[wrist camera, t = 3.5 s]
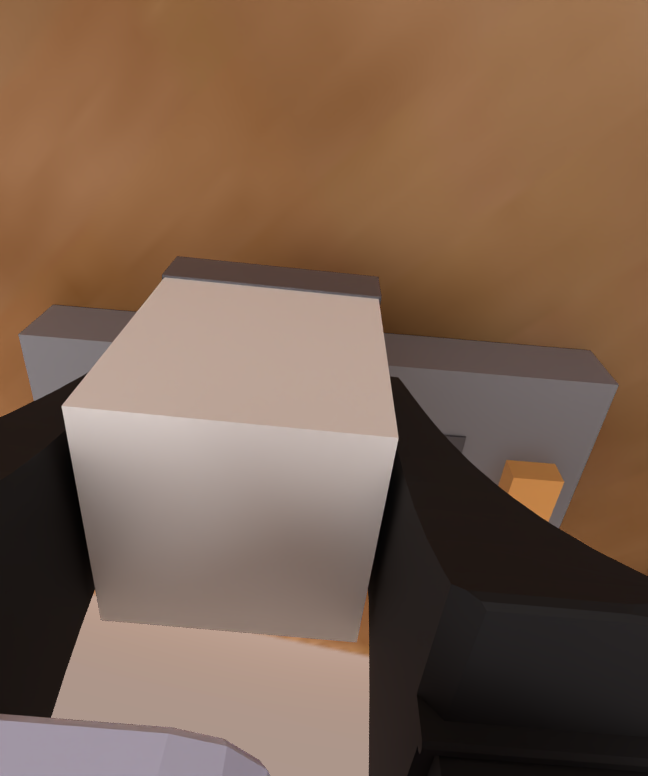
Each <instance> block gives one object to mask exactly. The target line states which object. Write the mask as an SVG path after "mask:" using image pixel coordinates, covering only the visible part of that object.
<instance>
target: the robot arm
mask: <svg viewBox="0 0 648 776" xmlns="http://www.w3.org/2000/svg"><path fill="white" fill-rule="evenodd" d="M87 374H88V373H86V374H85V375H83V376H81V377H79V378H77V379H76V380H74V381H72V382H70V383H68V384H66V385H65V386H63V387H61V388H59V389H57V390H55V391H54V392H52V393H50V394H47V395H45V396H43V397H41V398H39V399H37V400H35V401H33V402H31V403H29V404H27V405H25V406H23V407H21V408H19V409H17V410H15V411H13V412H11V413H9V414H7V415H4V416H2V417H0V776H270V774H269V772H268V770H267V769H266V768H265V766H264V765H263V764H262V763H261V762H260V760H258V759H257V758H255V757H253V756H252V755H250V754H248V753H247V752H245V751H243V750H241V749H240V748H238V747H237V746H235V745H233V744H231V743H230V742H228V741H226V740H225V739H222V738H218V737H213V736H209V735H204V734H199V733H194V732H190V731H186V730H181V729H177V728H171V727H159V726H146V725H133V724H121V723H108V722H96V721H83V720H71V719H57V718H51V715H52V712H53V709H54V706H55V703H56V700H57V697H58V694H59V691H60V687H61V684H62V681H63V678H64V675H65V672H66V669H67V666H68V663H69V660H70V657H71V655H72V651H73V649H74V646H75V643H76V640H77V637H78V634H79V631H80V628H81V625H82V623H83V620H84V617H85V615H86V612H87V609H88V606H89V604H90V601H91V598H92V596H93V593H94V590H95V585H94V580H93V574H92V569H91V564H90V558H89V553H88V547H87V542H86V536H85V531H84V526H83V520H82V515H81V509H80V504H79V498H78V493H77V488H76V482H75V477H74V471H73V466H72V460H71V455H70V450H69V444H68V439H67V433H66V428H65V422H64V417H63V412H62V405H63V403H64V402H65V401H66V400H67V398H68V397H69V396H70V395H71V393H72V392H73V391H74V390H75V388H76V387H77V386H78V385H79V383H80V382H81V381H82V380H83V379H84V377H85V376H86V375H87ZM390 381H391V388H392V395H393V402H394V409H395V416H396V423H397V430H398V437H399V439H398V443H397V448H396V453H395V458H394V463H393V468H392V473H391V478H390V482H389V487H388V492H387V497H386V502H385V507H384V512H383V516H382V521H381V526H380V531H379V536H378V541H377V546H376V551H375V555H374V560H373V565H372V570H371V575H370V580H369V585H368V596H369V664H370V665H369V666H370V668H369V670H370V671H369V677H370V678H369V679H370V704H369V705H370V706H369V707H370V708H369V711H370V712H369V717H370V718H369V776H648V576H646V575H644V574H642V573H640V572H638V571H636V570H634V569H632V568H630V567H628V566H626V565H624V564H622V563H620V562H618V561H616V560H614V559H612V558H610V557H608V556H606V555H604V554H602V553H600V552H598V551H596V550H594V549H592V548H591V547H589V546H587V545H586V544H584V543H582V542H581V541H579V540H577V539H575V538H574V537H572V536H570V535H569V534H567V533H565V532H563V531H562V530H560V529H559V528H557V527H555V526H554V525H552V524H551V523H549V522H548V521H546V520H544V519H543V518H541V517H540V516H538V515H537V514H536V513H534V512H533V511H531V510H530V509H529V508H527V507H526V506H524V505H523V504H522V503H520V502H519V501H517V500H516V499H514V498H513V497H512V496H510V495H509V494H508V493H507V492H505V491H504V490H503V489H501V488H500V487H499V486H498V485H497V484H495V483H494V482H493V481H492V480H491V479H489V478H488V477H487V476H486V475H485V474H484V473H482V472H481V471H480V470H479V469H478V468H477V467H476V466H474V465H473V464H472V463H471V462H470V461H469V460H468V459H467V458H466V457H465V456H464V455H463V454H462V453H461V452H460V451H459V450H458V449H457V448H456V447H455V446H454V445H453V444H452V443H451V442H450V441H449V440H448V439H447V437H446V436H445V435H444V434H443V433H442V432H441V431H440V430H439V428H438V427H437V426H436V425H435V424H434V423H433V421H432V420H431V419H430V418H429V416H428V415H427V414H426V413H425V411H424V410H423V409H422V408H421V406H420V405H419V404H418V402H417V401H416V400H415V398H414V397H413V396H412V394H411V393H410V392H409V390H408V389H407V388H406V386H405V385H404V384H403V382H402V381H401V380H400V379H399V377H391V376H390Z"/></svg>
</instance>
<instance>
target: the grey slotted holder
mask: <svg viewBox="0 0 648 776" xmlns="http://www.w3.org/2000/svg"><path fill="white" fill-rule="evenodd" d="M135 314H136V312H131V311H120V310H108V309H96V308H84V307H73V306H61V305H52V306H51V307H50V308H49V309H47V310H46V311H45V312H44V313H43V314H42V315H40V316H39V317H38V318H37V319H36V320H35V321H33V322H32V323H31V324H30V325H29V326H28V327H26V328H25V329H24V330H23V331H22V332H21V333H19V334H18V335H19V339H20V343H21V347H22V352H23V356H24V360H25V364H26V369H27V373H28V377H29V381H30V386H31V390H32V394H33V398H34V401H35V400H37V399H39V398H41V397H43V396H45V395H47V394H50V393H52V392H54V391H55V390H57V389H59V388H61V387H63V386H65V385H66V384H68V383H70V382H72V381H74V380H76V379H77V378H79V377H81V376H83V375H85V374H86V373H88V372H89V371H90V370H91V369H92V367H93V366H94V365H95V364H96V362H97V361H98V360H99V359H100V357H101V356H102V355H103V354H104V352H105V351H106V350H107V349H108V347H109V346H110V345H111V344H112V342H113V341H114V340H115V339H116V337H117V336H118V335H119V334H120V332H121V331H122V330H123V329H124V327H125V326H126V325H127V324H128V322H129V321H130V320H131V319H132V317H133V316H134V315H135ZM384 340H385V347H386V354H387V361H388V368H389V375H390V376H391V377H399V379H400V380H401V381H402V382H403V384H404V385H405V386H406V388H407V389H408V390H409V392H410V393H411V394H412V396H413V397H414V398H415V400H416V401H417V402H418V404H419V405H420V406H421V408H422V409H423V410H424V411H425V413H426V414H427V415H428V416H429V418H430V419H431V420H432V421H433V423H434V424H435V425H436V426H437V427H438V428H439V430H440V431H441V432H442V433H443V434H444V435H445V436H446V437H447V439H448V440H449V441H450V442H451V443H452V444H453V445H454V446H455V447H456V448H457V449H458V450H459V451H460V452H461V453H462V454H463V455H464V456H465V457H466V458H467V459H468V460H469V461H470V462H471V463H472V464H473V465H474V466H476V467H477V468H478V469H479V470H480V471H481V472H482V473H484V474H485V475H486V476H487V477H488V478H489V479H491V480H492V481H493V482H494V483H495V484H497V485H498V486H499V487H500V488H501V489H503V490H504V491H505V492H507V493H508V494H509V495H510V496H512V497H513V498H514V499H516V500H517V501H519V502H520V503H522V504H523V505H524V506H526V507H527V508H529V509H530V510H531V511H533V512H534V513H536V514H537V515H538V516H540V517H541V518H543V519H544V520H546V521H548V522H549V523H551V524H552V525H554V526H555V527H557V528H559V527H560V525H561V522H562V520H563V518H564V515H565V513H566V510H567V508H568V506H569V503H570V501H571V498H572V496H573V494H574V491H575V489H576V486H577V484H578V482H579V479H580V477H581V474H582V472H583V470H584V467H585V465H586V462H587V460H588V458H589V455H590V453H591V450H592V448H593V446H594V443H595V441H596V438H597V436H598V434H599V431H600V429H601V426H602V424H603V422H604V419H605V417H606V414H607V412H608V410H609V407H610V405H611V402H612V400H613V398H614V395H615V393H616V390H617V388H618V386H619V385H618V383H617V382H616V381H615V380H614V379H613V377H612V376H611V375H610V374H609V373H608V371H607V370H606V369H605V368H604V366H603V365H602V364H601V363H600V362H599V360H598V359H597V358H596V357H595V356H594V354H593V353H592V352H591V351H590V350H579V349H567V348H555V347H543V346H532V345H520V344H508V343H496V342H485V341H473V340H461V339H449V338H437V337H426V336H414V335H402V334H390V333H384Z"/></svg>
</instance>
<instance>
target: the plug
mask: <svg viewBox="0 0 648 776" xmlns="http://www.w3.org/2000/svg"><path fill="white" fill-rule="evenodd" d="M380 303H381V291H380V285H379V278H378V277H376V276H366V275H356V274H346V273H336V272H327V271H317V270H307V269H297V268H287V267H277V266H268V265H258V264H248V263H238V262H228V261H219V260H209V259H199V258H189V257H179V256H177V257H176V258H175V260H174V261H173V262H172V263H171V264H170V266H169V267H168V268H167V269H166V271H165V272H164V273H163V274H162V281H161V282H160V284H159V285H158V286H157V287H156V289H155V290H154V291H153V292H152V294H151V295H150V296H149V297H148V299H147V300H146V301H145V302H144V304H143V305H142V306H141V307H140V309H139V310H138V311H137V312H136V314H135V315H134V316H133V317H132V319H131V320H130V321H129V322H128V324H127V325H126V326H125V327H124V329H123V330H122V331H121V332H120V334H119V335H118V336H117V337H116V339H115V340H114V341H113V342H112V344H111V345H110V346H109V347H108V349H107V350H106V351H105V352H104V354H103V355H102V356H101V357H100V359H99V360H98V361H97V362H96V364H95V365H94V366H93V367H92V369H91V370H90V371H89V372H88V374H87V375H86V376H85V377H84V379H83V380H82V381H81V382H80V383H79V385H78V386H77V387H76V388H75V390H74V391H73V392H72V393H71V395H70V396H69V397H68V398H67V400H66V401H65V402H64V403H63V405H62V412H63V417H64V422H65V428H66V433H67V439H68V444H69V450H70V455H71V460H72V466H73V471H74V477H75V482H76V488H77V493H78V498H79V504H80V509H81V515H82V520H83V526H84V531H85V536H86V542H87V547H88V553H89V558H90V564H91V569H92V574H93V580H94V585H95V591H96V596H97V602H98V607H99V612H100V618H101V620H105V621H116V622H128V623H139V624H150V625H162V626H173V627H186V628H197V629H209V630H221V631H232V632H243V633H255V634H266V635H278V636H289V637H301V638H313V639H324V640H336V641H347V642H357V638H358V633H359V629H360V624H361V619H362V614H363V609H364V604H365V599H366V594H367V590H368V585H369V580H370V575H371V570H372V565H373V560H374V555H375V551H376V546H377V541H378V536H379V531H380V526H381V521H382V516H383V512H384V507H385V502H386V497H387V492H388V487H389V482H390V478H391V473H392V468H393V463H394V458H395V453H396V448H397V443H398V439H399V437H398V430H397V423H396V416H395V409H394V402H393V395H392V388H391V381H390V375H389V368H388V361H387V354H386V347H385V340H384V333H383V326H382V319H381V312H380Z"/></svg>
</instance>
